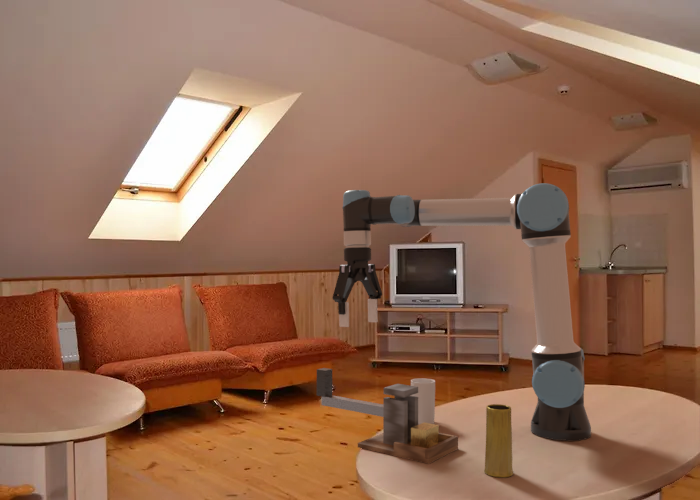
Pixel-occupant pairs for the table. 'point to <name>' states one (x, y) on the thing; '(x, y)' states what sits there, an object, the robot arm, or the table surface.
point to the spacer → (425, 435)
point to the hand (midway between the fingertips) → (359, 324)
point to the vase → (498, 441)
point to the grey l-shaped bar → (340, 402)
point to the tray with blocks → (405, 429)
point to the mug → (425, 399)
